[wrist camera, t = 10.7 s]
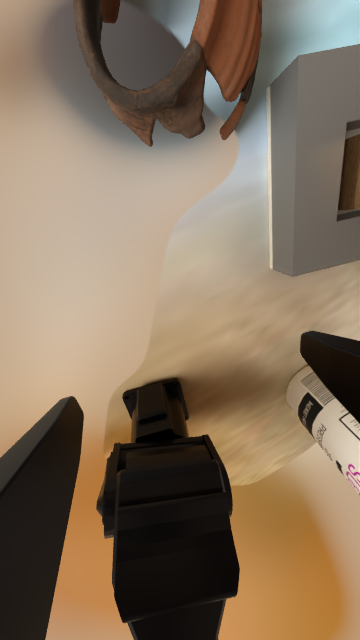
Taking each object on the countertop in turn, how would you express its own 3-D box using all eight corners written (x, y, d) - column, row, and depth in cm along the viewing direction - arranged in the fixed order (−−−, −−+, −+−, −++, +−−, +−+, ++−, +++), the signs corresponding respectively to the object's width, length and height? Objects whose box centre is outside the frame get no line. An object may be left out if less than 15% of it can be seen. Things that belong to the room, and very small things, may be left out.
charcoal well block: (391, 238, 22) (433, 241, 19) (269, 268, 21) (292, 276, 18) (430, 57, 16) (499, 18, 13) (266, 88, 16) (298, 55, 12)
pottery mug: (214, 188, 18) (178, 167, 11) (125, 128, 19) (37, 73, 12) (338, -40, 12) (432, -419, 5) (197, -116, 13) (100, -544, 6)
